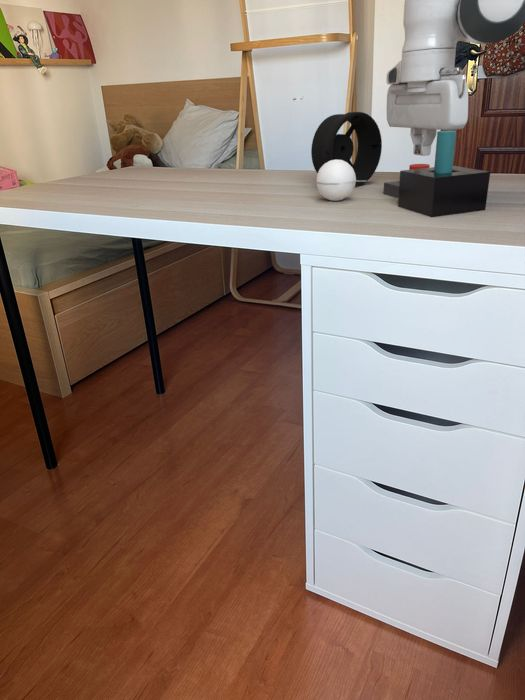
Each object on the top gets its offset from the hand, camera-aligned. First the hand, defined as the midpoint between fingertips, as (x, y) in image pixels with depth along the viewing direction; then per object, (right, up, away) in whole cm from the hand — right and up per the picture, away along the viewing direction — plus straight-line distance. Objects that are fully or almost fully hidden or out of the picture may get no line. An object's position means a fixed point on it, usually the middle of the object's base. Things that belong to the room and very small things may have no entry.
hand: (421, 155), depth 97 cm
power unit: (0, -6, +3) cm, 7 cm away
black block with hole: (0, -12, -9) cm, 15 cm away
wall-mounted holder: (-12, 0, +18) cm, 22 cm away
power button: (0, -3, +2) cm, 4 cm away
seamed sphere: (-15, -8, +1) cm, 17 cm away
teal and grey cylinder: (0, -12, -9) cm, 15 cm away
